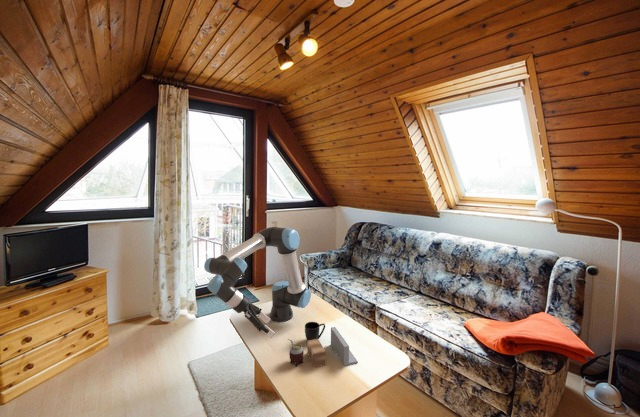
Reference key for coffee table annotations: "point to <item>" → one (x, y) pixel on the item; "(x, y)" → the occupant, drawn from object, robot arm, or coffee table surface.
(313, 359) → the tan block with ledge
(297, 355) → the mate gourd
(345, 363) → the backstop board
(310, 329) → the mug
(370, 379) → the coffee table surface
